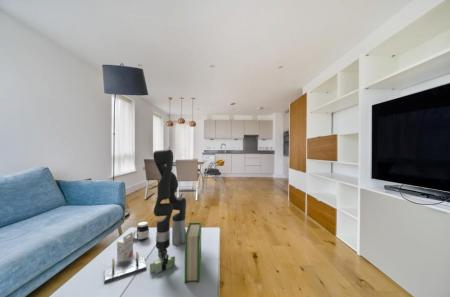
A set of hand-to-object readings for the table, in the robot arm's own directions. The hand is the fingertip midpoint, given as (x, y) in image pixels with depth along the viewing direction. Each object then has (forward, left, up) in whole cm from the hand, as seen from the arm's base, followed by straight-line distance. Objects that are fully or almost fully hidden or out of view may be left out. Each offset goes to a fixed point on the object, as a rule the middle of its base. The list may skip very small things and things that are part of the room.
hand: (162, 267), depth 105 cm
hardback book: (-14, +12, -1) cm, 18 cm away
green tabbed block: (0, 0, 0) cm, 0 cm away
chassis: (+18, -10, 0) cm, 21 cm away
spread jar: (+5, -46, -1) cm, 46 cm away
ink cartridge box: (+17, -24, -1) cm, 29 cm away
